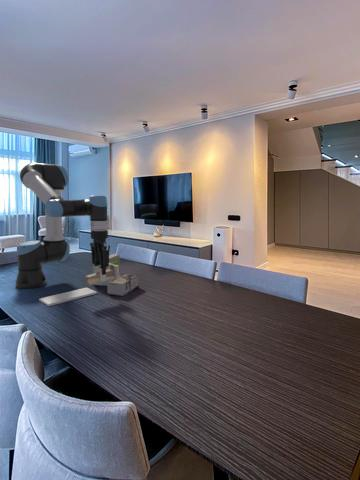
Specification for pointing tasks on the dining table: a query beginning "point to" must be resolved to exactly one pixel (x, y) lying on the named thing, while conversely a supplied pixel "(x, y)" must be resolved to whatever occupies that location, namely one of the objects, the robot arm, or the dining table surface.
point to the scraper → (110, 273)
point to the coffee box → (123, 285)
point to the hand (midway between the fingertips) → (100, 280)
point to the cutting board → (67, 296)
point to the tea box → (113, 260)
